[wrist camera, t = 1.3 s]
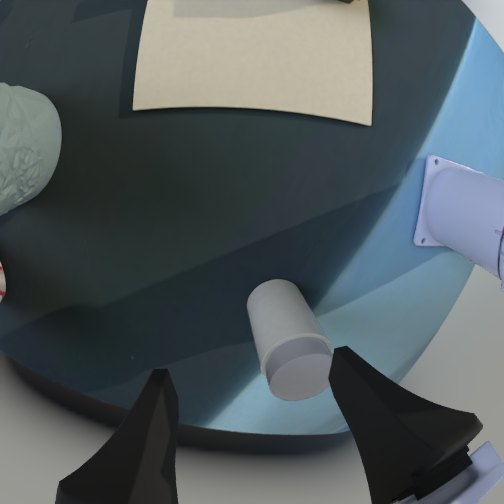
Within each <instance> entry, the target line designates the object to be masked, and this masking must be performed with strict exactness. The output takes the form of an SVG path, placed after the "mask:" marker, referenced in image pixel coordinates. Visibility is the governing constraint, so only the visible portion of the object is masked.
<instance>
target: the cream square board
mask: <svg viewBox="0 0 504 504" xmlns="http://www.w3.org/2000/svg"><path fill="white" fill-rule="evenodd" d="M182 107H228V108H249V109H264V110H275V111H284V112H293V113H301V114H308V115H315V116H321V117H327V118H333V119H338V120H344V121H349V122H354V123H358V124H363V125H367V126H371V119H372V47H371V30H370V18H369V9H368V0H360V1H358V0H354V1H353V2H352V3H350V4H348V3H345V2H342V1H338V0H148V2H147V7H146V12H145V16H144V21H143V27H142V32H141V38H140V45H139V51H138V59H137V67H136V76H135V86H134V98H133V110H134V111H136V110H147V109H161V108H182Z"/></svg>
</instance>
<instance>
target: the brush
mask: <svg viewBox="0 0 504 504" xmlns="http://www.w3.org/2000/svg"><path fill="white" fill-rule="evenodd" d="M338 1H342V2H345V3H348V4H350V3H352V2H353V1H354V0H338ZM358 1H360V0H358Z"/></svg>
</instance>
